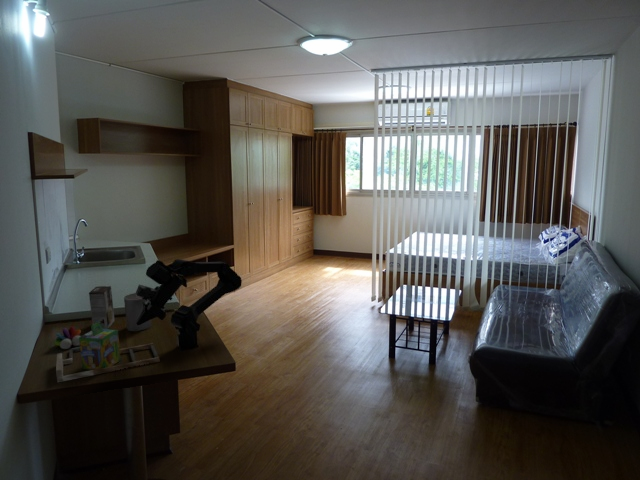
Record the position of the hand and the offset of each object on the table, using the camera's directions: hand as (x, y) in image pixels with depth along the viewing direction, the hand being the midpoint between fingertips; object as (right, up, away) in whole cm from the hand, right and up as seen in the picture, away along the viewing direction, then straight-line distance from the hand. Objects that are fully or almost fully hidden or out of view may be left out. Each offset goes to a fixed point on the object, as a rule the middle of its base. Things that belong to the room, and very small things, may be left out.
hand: (137, 324), depth 168 cm
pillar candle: (-11, -7, +32) cm, 35 cm away
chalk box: (-11, -14, -3) cm, 18 cm away
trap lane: (-11, -12, +2) cm, 17 cm away
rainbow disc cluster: (-31, -11, +14) cm, 36 cm away
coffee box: (-28, -7, +35) cm, 45 cm away
